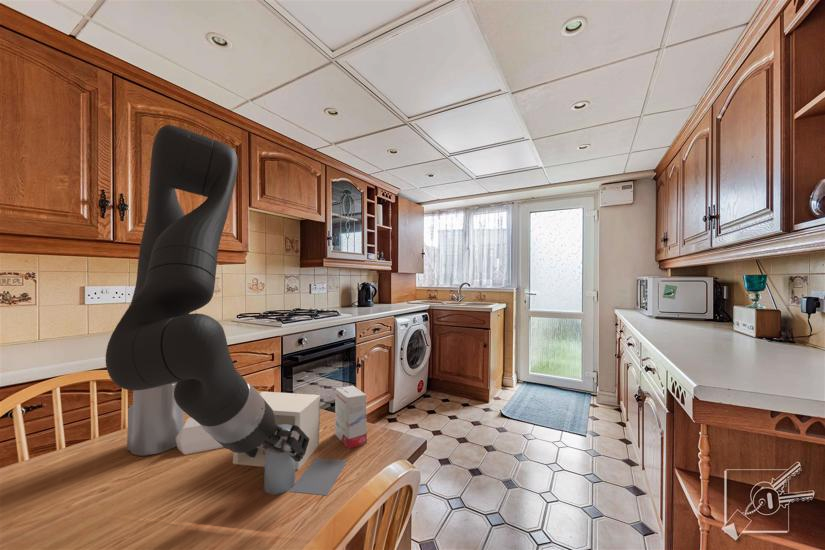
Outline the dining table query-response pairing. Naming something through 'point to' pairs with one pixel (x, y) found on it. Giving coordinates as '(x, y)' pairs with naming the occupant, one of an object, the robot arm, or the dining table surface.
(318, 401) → the cubby
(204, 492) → the dining table surface
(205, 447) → the white beveled prism
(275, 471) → the jar
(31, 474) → the dining table surface
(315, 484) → the mat
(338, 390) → the ink box
